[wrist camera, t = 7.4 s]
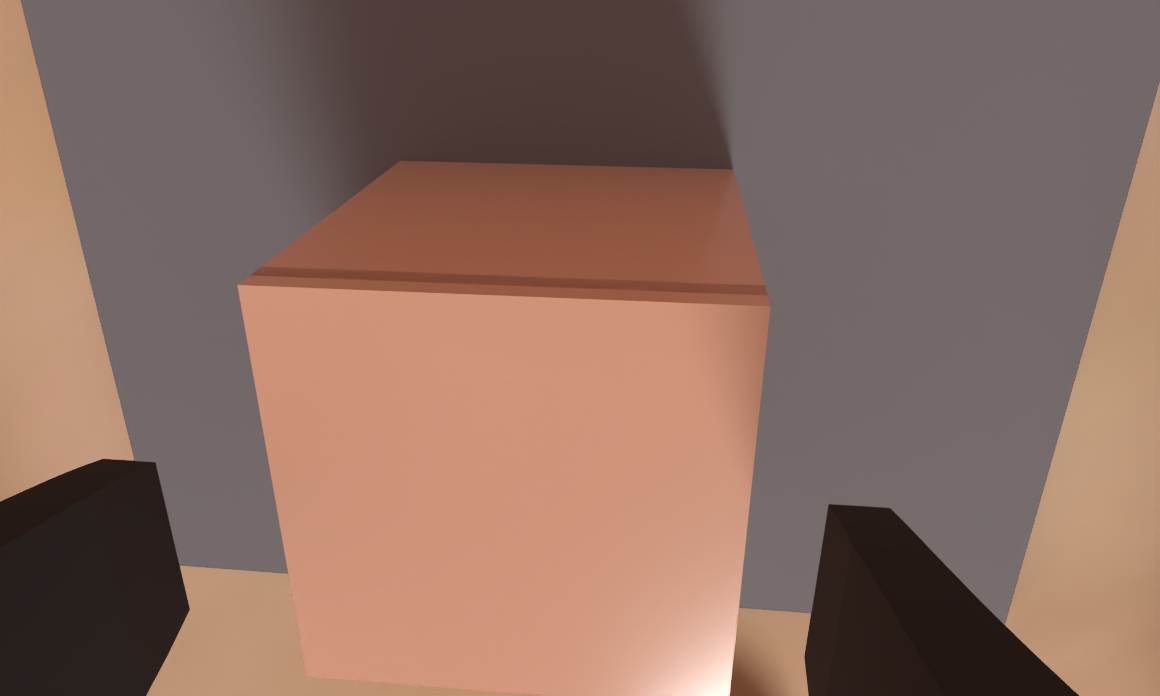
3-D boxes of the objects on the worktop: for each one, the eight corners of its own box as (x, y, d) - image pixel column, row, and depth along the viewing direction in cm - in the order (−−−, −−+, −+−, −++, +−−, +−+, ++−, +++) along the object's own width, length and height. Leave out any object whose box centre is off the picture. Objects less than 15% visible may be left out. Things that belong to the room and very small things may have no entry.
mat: (174, 546, 19) (160, 563, 19) (22, -96, 14) (-4, -98, 13) (994, 606, 18) (1004, 627, 17) (1185, -89, 12) (1208, -91, 12)
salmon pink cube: (424, 444, 17) (306, 675, 11) (400, 160, 15) (237, 285, 9) (710, 460, 16) (727, 710, 11) (732, 168, 14) (770, 307, 9)
